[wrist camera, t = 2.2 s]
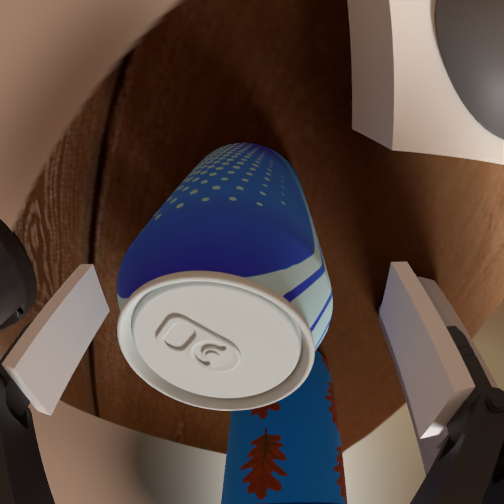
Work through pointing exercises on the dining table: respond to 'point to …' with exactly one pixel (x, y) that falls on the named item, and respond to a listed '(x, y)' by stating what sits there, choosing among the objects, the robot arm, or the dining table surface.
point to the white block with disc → (429, 75)
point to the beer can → (226, 285)
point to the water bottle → (449, 319)
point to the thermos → (288, 448)
